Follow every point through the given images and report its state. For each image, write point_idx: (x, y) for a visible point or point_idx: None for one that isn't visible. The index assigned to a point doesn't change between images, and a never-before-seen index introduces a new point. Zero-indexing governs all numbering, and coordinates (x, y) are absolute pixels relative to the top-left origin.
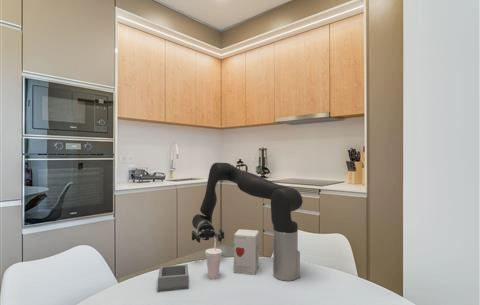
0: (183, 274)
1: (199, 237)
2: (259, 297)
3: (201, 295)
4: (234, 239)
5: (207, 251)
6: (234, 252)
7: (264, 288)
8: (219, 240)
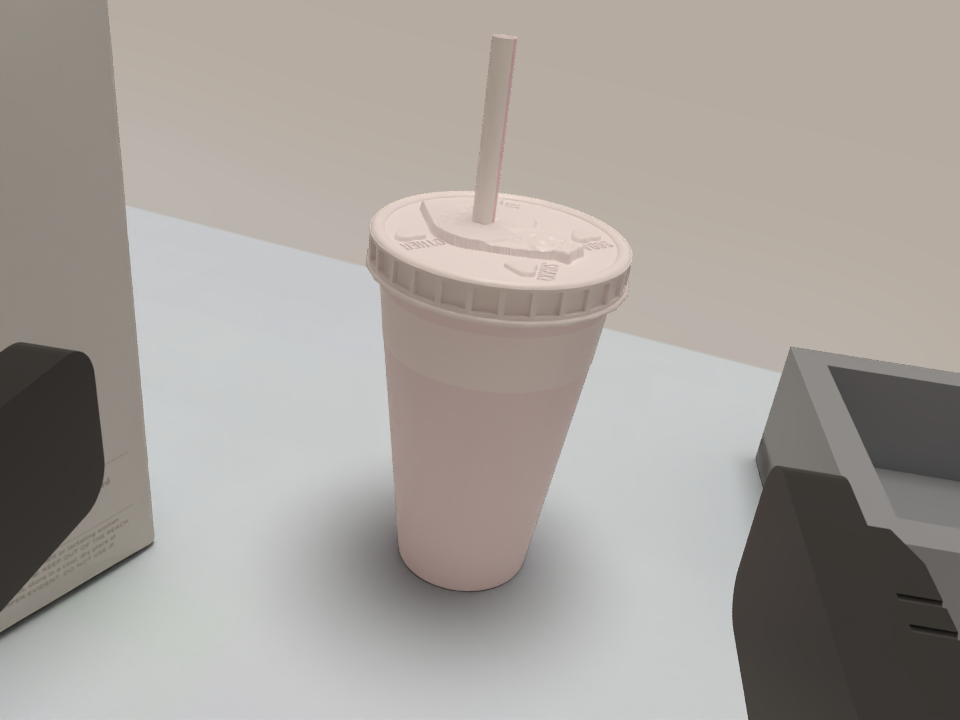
0: None
1: (805, 472)
2: (271, 259)
3: (643, 370)
4: (110, 56)
5: (599, 249)
6: (129, 276)
7: (148, 291)
8: (80, 450)
